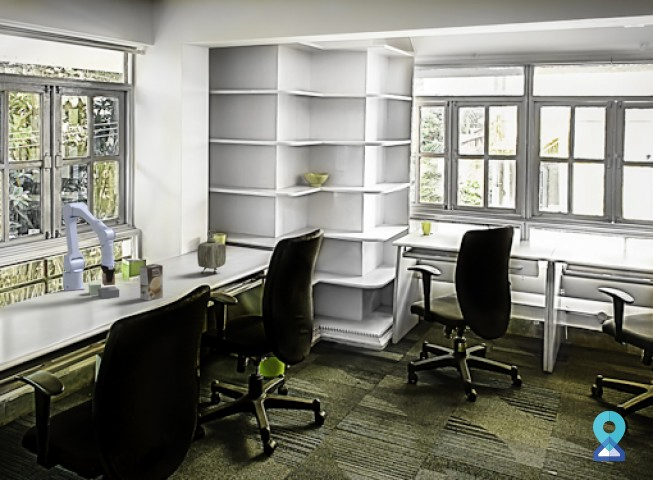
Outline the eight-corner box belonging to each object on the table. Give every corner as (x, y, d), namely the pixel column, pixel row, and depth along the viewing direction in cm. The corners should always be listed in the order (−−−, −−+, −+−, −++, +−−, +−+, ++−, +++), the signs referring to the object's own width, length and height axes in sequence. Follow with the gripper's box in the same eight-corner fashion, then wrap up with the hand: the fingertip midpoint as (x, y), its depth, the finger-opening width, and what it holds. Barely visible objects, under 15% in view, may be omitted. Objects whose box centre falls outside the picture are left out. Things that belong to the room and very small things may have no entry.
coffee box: (149, 301, 346) (148, 268, 343) (140, 298, 349) (139, 266, 346) (163, 297, 353) (162, 265, 350) (154, 295, 357) (153, 263, 354)
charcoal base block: (102, 299, 348) (102, 291, 347) (98, 295, 354) (98, 287, 354) (119, 297, 352) (119, 289, 351) (114, 293, 359) (114, 286, 358)
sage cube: (90, 295, 354) (90, 285, 354) (88, 292, 359) (88, 283, 358) (101, 294, 357) (100, 284, 356) (99, 292, 361) (98, 282, 360)
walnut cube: (104, 285, 349) (104, 275, 348) (102, 283, 353) (102, 273, 352) (115, 284, 351) (114, 274, 350) (112, 282, 356) (112, 272, 355)
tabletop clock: (215, 270, 415) (215, 227, 411) (227, 272, 410) (227, 229, 406) (197, 274, 404) (197, 230, 399) (209, 276, 399) (208, 232, 394)
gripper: (119, 255, 345) (120, 283, 347) (112, 250, 358) (113, 277, 360) (104, 256, 342) (105, 284, 344) (97, 251, 354) (98, 278, 357)
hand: (108, 281), depth 352 cm, fingers closed on walnut cube, 5 cm apart
